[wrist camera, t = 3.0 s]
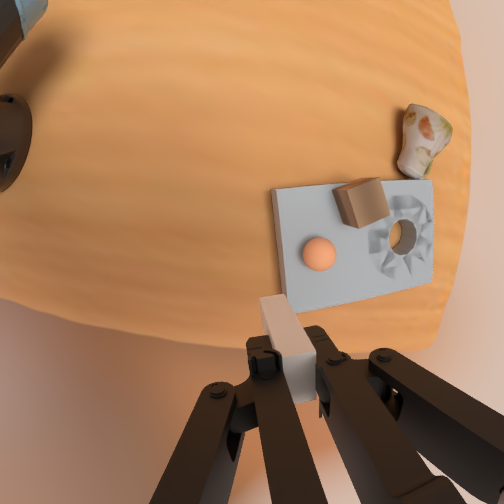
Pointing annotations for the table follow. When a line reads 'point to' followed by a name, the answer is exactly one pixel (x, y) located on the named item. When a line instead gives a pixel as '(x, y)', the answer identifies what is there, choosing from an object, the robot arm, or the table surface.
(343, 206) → the walnut cube
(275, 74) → the table surface
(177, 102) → the table surface
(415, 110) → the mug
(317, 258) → the ball
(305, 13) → the table surface
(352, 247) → the grey flat block
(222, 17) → the table surface
